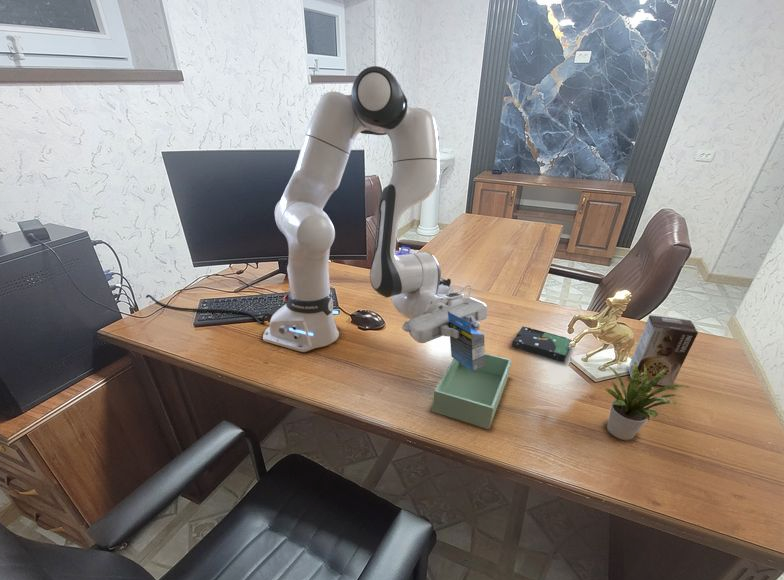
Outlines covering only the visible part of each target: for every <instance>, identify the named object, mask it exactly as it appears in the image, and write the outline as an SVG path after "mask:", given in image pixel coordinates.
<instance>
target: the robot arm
mask: <svg viewBox="0 0 784 580" xmlns="http://www.w3.org/2000/svg"><path fill="white" fill-rule="evenodd" d="M350 93H351V94H345V93H342V92H339V91H327V92H325V93H324V94H322V95H321V97H320V99H319V100H318V102H317V104H316V106H315V108H314V110H313V112H312V115H311V117H310V120H309V123H308V125H307V128H306V131H305V135H304V138H303V141H302V145H301V148H300V151H299V154H298V158H297V162H296V164H295V168H294V170H293V173H292V175H291V177H290V179H289V181H288V183H287V185H286V187H285V189H284V191H283V193H282V196H281V198H280V199H279V201H278V202H277V203H276V205H275V208H274V220H275V223H276V226H277V228H278V230H279V232H280V233H282V235H284V237H285V238H286V242H287V246H288V263H287V266H286V270H287V278H288V285H289V291H288V292H287V293H285V295H284V296H283V298H282V300H283V301H282V303H285V302H286V303H285V304H283V306H281V307H280V306H274V307H273V308H272V309H270V310H269V311H267V312H266V313H264V314H263V315H262V317H261V320H259V318H258V317H257V316H256V315H255V314H253V313H251V312H248V311H243V310H235V309H226V308H225V309H223V308H222V309H221V308H192V307H179V306H173V305H169V304H166V303H163V302H161V301H158V300H156V298H155V297H153V296H152V295H151V294H147V295H146V296H145V298H146V299H148V298H150V299H151V300H152V301H153V302H154V303H156V304H159V305H160V306H162V307H165V308H170V309H174V310H181V311H192V312H193V311H195V312H223V313H224V312H225V313H237V314H245V315H248V316H251V317H253V318H254V320H256V321H257V322H258V323H259V324H261V325H263V324H264V323H265V318H266V320H267V322H268V323H269V326H268V327H267V328H266V329H265V330H264V332H263V333H262V340H263V342H266V343H269V344H272V345H276V346H279V347H283V348H287V349H290V350H293V351H296V352H299V353H306V352H310V351H311V350H315V349H318V348H324V347H326V346H329V345H331V344H333V343H334V342H336V341H337V339H338V338H339V337H340V331H339V329H338V327H337V324H336V320H335V316H334V315H339V310H334V299H333V293H332V290H331V286H330V285H331V283H330V272H329V271H330V270H329V262H330V253H331V247H332V245H333V243H334V242H335V238H336V229H335V227H334V224H333V221H332V220H331V219H330V217H329V215H328V214H327V213H326V212H325V210H323V209H324V208H325V206H326V204H327V203H328V201H329V199H330V198H331V196H332V194H334V192H336V191H337V189H339V186H340V185H341V181H342V178H343V176H344V173H345V170H346V166H347V163H348V161H349V158H350V155H351V152H352V148H353V146H354V142H355V140H356V138H357V137H358V135H359V134H362V135H373V136H374V135H375V136H386V135H387V137H388V139H389V141H390V145H391V150H392V151H391V153H392V155H391V156H392V171H391V177H390V179H389V183H388V184H387V186H385V187H383V189H382V191H381V194H380V198H379V203H378V211H377V220H376V229H375V230H376V231H375V239H374V250H373V256H372V260H371V265H370V269H369V281H370V286H371V287H372V288H373V290H374V291H375V292H377V294H379V295H380V296H382V297H384V298H391V302H392V305H393V306H394V308H395V310H396V311H397V312H398V313H399V314H401V315H402V316H404V317H405V318H407V319H408V320H406V321H405V322H404V323H403V324H402V325H401V329H402V330H403V331H405V332H406V333H408V334H409V336H410V337H411V338H412V339H413V340H414V341H415V342H417V343H419V344H426V343H429V342H431V341H433V340H436V339H438V338H441V337H449V338H450V337H454V338H456V339H457V338H459V337H462V330H461V329H459V328H455V329H454V328H449V322H450V320H449V319H448V312H450V313H452V314H454V315H455V316H457V317H459V318H461V319H463V320H464V321H466V322H468V323H470V327H471V328H472V329H474V330H476V331H480V329H481V323H480V322H481V321H484V320H486V319H487V317H488V307H487V304H486V303H485V302H483V301H481V300H478V299H476V298H474V297H471V296H469V297H468V296H464V293H463V292H461V293H459V292H460V291H459V292H454V293H453V292H451V294H436V293H437V290H438V287H439V284H440V279H441V278H442V270H441V266H440V264H439V262H438V260H437V258H436V257H435V256H434V255H433V254H431V253H430V252H428V251H426V252H425V251H424V252H415V253H413V252H412V253H413V254H406V255H397V256H395V251H396V248H397V247H396V246H397V238H398V229H399V222H400V220H401V217H402V216H403V214H404V213H406V211H408V210H409V209H410V208H412V207H414V206H416V205H417V204H419V203H421V202H422V203H423V201H425V200H426V199H427V198H429V197H430V196H431V195H432V194H433V193H434V191H435V189H436V188H437V186H438V182H439V176H440V151H439V149H440V148H439V139H438V131H437V124H436V120H435V117H434V115H433V113H431V112H430V111H429V110H428V109H425V108H422V107H409V100H408V99H407V97H406V95H405V92H404V91H403V89H402V87H401V85H400V83H399V81H398V80H397V78H396V77H395V75H394V74H393V73H392V72H391V71H389V70H388V69H387V68H385V67H382V66H379V65H378V66H377V65H373V66H369V67H368V66H367V67H366V68H364V69H362V71H360V73H358V74H357V76H356V77H355V79H354V81H353V84H352V87H351V92H350ZM447 311H448V312H447ZM455 321H456V322H460V321H459V320H458V321H457V320H455Z"/></svg>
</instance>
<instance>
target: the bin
mask: <svg viewBox="0 0 784 580" xmlns="http://www.w3.org/2000/svg"><path fill="white" fill-rule="evenodd" d="M511 365H512V359H510V358H506V357H504V356H499V355H494V354H490V353H486V352H485V367H483V368H480V369H478V370H476V371H473V372H472V371H471V370H469V369H468V368H467V367H465V366H464V365H462V364H461V363H460V362H458V361H457V360H455V359H454V358H452V361H451V362H450V364H449V365H448V367H447V369H446V370H445V372H444V374H443V375H442V377H441V378H440V380H439V382H438V384H437V385H436V386H435V389H434V390H433V399H432V409H431V410H432V412H433V413H436V414H439V415H442V416H445V417H449V418H451V419H455V420H458V421H461V422H464V423H466V424H467V423H468V424H470V425H474V426H477V427H480V428H483V429H487V430H490V428H491V425H492V422H493V419H494V417H495V414H496V412H497V410H498V407H499V404H500V401H501V398H502V395H503V392H504V390H505V388H506V384H507V381H508V380H509V379H508V378H509V374H510V371H511V370H510V369H511Z"/></svg>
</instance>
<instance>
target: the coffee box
mask: <svg viewBox="0 0 784 580" xmlns="http://www.w3.org/2000/svg"><path fill="white" fill-rule="evenodd" d="M698 334H699V332H698V330H697V328H696V326H695V325H694V322H692V320H690V319H683V318H675V317H667V316H660V315H653V314H652V315H651V314H650V315H649V316H648V318H647V321H646V323H645V326H644V328H643V331H642V333H641V336H640V337H639V340H638V341H637V342H638V343H637V344H636V347H635V349H634V353H633V355H632V357H631V360H630V362H629V364H628V367H627V368H628V372H629V375H630V378H631V377H632V371H633V365H634V362H636V364H637V366H638V370H639V373H640V374H641V372H642V373H643V372H644V363H645V366H646V369H647V374H648V377H647V382H649V381H650V382H651V381H652V380H653V379H654V377H655V376H656V375H657V374H658V373H659V372H661V371H662V370H664V369H665V368H666V371H665V372H664V374H663V376H662V378H661V380H660V381H659V382H658V383H657V384H656V385H655V386H661V387H664V386H668V385H674V383H675V380H676V379H677V376H678V375H679V372H680V371H681V369H682V366H683V364H684V363H685V360H686V358H687V356H688V355H689V352H690V350H691V348H692V346H693V345H694V342H695V341H696V339H697V336H698ZM629 365H630V366H629ZM640 370H641V371H640ZM642 376H643V377H644V374H642ZM642 376H640V379H639V383H641V379H642Z"/></svg>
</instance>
